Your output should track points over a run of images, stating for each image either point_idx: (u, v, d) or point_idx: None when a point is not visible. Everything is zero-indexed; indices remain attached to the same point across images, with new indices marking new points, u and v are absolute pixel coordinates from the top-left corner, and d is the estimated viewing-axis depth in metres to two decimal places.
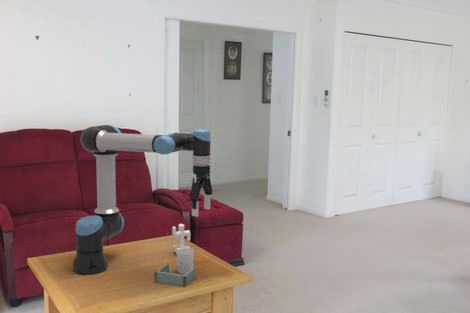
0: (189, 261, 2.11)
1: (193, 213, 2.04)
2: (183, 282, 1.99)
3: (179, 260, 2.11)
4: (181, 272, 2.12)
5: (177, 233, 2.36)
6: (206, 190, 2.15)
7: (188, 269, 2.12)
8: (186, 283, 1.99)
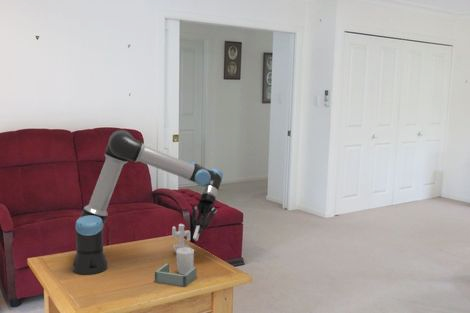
0: (189, 261, 2.11)
1: (196, 236, 2.22)
2: (183, 282, 1.99)
3: (179, 260, 2.11)
4: (181, 272, 2.12)
5: (177, 233, 2.36)
6: (199, 221, 2.28)
7: (188, 269, 2.12)
8: (186, 283, 1.99)
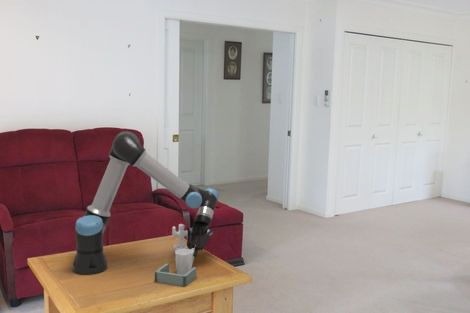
0: (187, 262, 2.10)
1: None
2: (183, 282, 1.99)
3: (177, 260, 2.10)
4: (179, 273, 2.11)
5: (177, 233, 2.36)
6: (194, 243, 2.24)
7: (186, 270, 2.11)
8: (186, 283, 1.99)
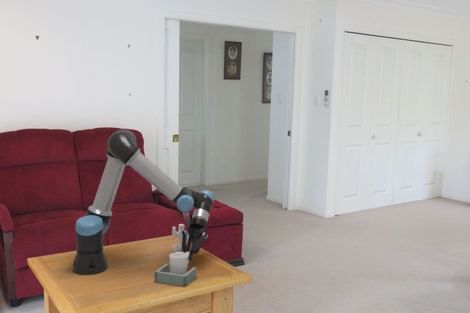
0: (182, 266, 2.05)
1: None
2: (183, 282, 1.99)
3: (172, 264, 2.05)
4: None
5: (177, 233, 2.36)
6: (189, 246, 2.19)
7: (181, 274, 2.06)
8: (186, 283, 1.99)
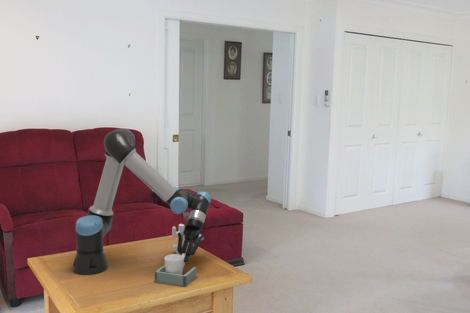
0: (177, 268, 2.02)
1: None
2: (183, 282, 1.99)
3: (167, 267, 2.02)
4: None
5: (177, 233, 2.36)
6: (185, 248, 2.16)
7: None
8: (186, 283, 1.99)
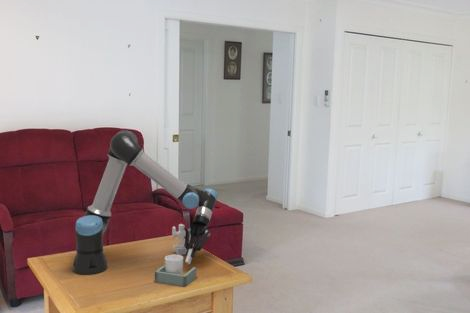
0: (178, 269, 2.02)
1: (189, 260, 2.16)
2: (183, 282, 1.99)
3: (167, 267, 2.02)
4: None
5: (177, 233, 2.36)
6: (192, 243, 2.22)
7: None
8: (186, 283, 1.99)
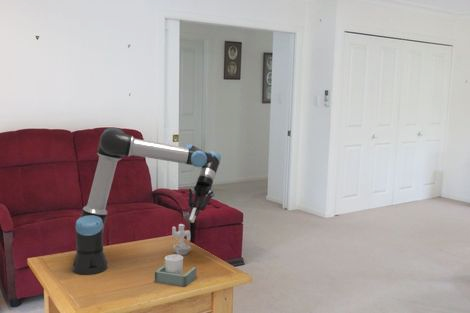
0: (178, 269, 2.02)
1: (193, 218, 2.19)
2: (183, 282, 1.99)
3: (167, 267, 2.02)
4: None
5: (177, 233, 2.36)
6: (196, 203, 2.25)
7: None
8: (186, 283, 1.99)
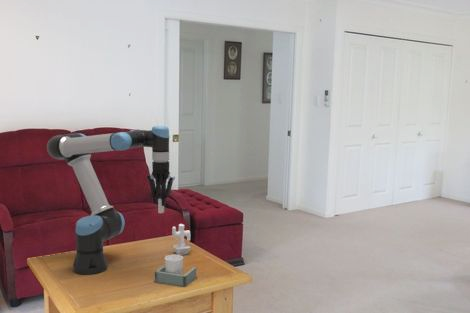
0: (178, 269, 2.02)
1: (162, 210, 2.15)
2: (183, 282, 1.99)
3: (167, 267, 2.02)
4: None
5: (177, 233, 2.36)
6: (159, 191, 2.15)
7: None
8: (186, 283, 1.99)
